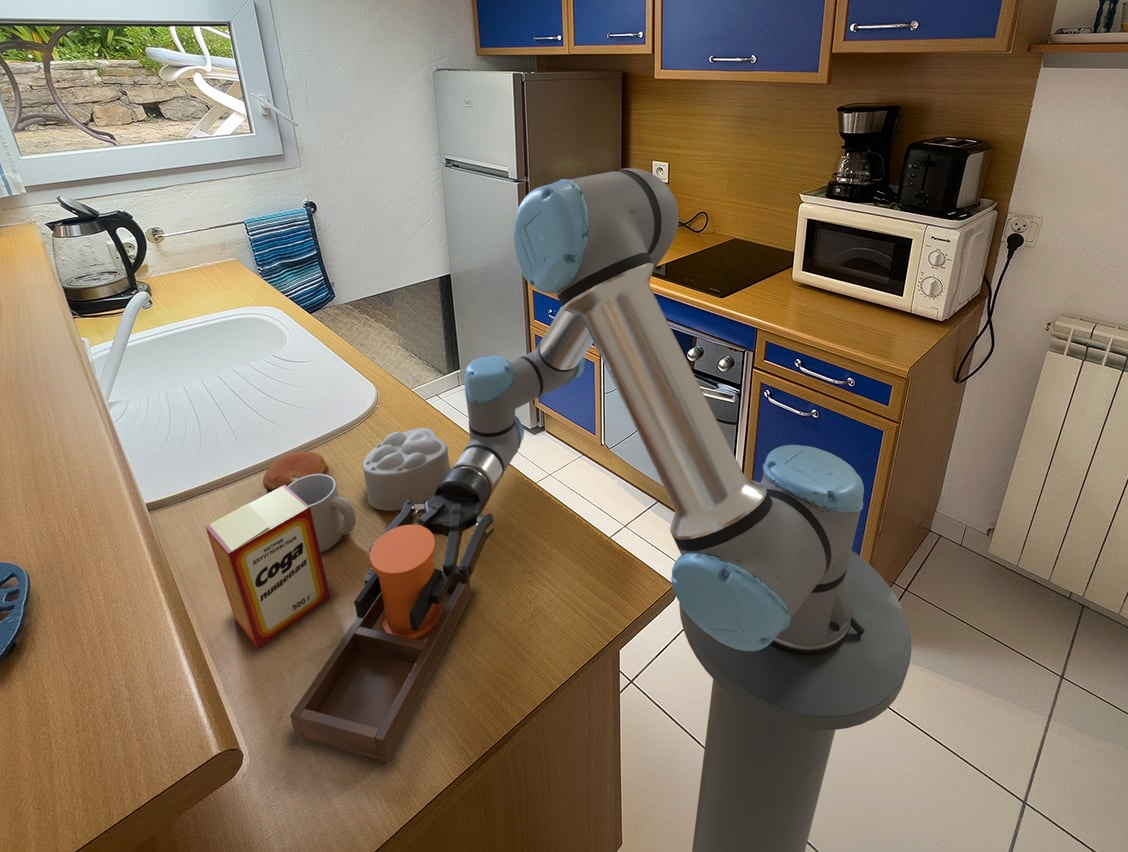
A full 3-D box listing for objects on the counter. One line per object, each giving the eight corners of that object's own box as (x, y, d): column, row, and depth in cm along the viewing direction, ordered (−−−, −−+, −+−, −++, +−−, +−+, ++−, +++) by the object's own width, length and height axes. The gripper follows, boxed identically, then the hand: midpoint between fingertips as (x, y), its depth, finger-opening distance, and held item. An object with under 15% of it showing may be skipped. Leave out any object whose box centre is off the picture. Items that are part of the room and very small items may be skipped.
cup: (310, 517, 94) (300, 471, 91) (370, 523, 93) (362, 477, 90) (282, 553, 88) (270, 505, 84) (347, 559, 87) (337, 512, 83)
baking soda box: (306, 572, 85) (284, 482, 78) (330, 597, 81) (309, 504, 75) (234, 618, 78) (204, 524, 72) (257, 648, 74) (227, 550, 68)
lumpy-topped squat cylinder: (457, 485, 102) (453, 443, 98) (383, 522, 93) (376, 478, 90) (429, 455, 109) (424, 415, 105) (357, 488, 101) (350, 446, 97)
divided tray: (471, 595, 81) (469, 575, 80) (387, 762, 63) (382, 740, 61) (398, 580, 84) (395, 560, 82) (295, 736, 65) (289, 715, 63)
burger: (314, 459, 107) (310, 438, 105) (339, 483, 102) (335, 461, 100) (256, 487, 100) (250, 465, 99) (279, 515, 95) (273, 492, 93)
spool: (453, 598, 80) (445, 530, 75) (426, 650, 73) (415, 578, 69) (402, 587, 81) (391, 519, 77) (370, 637, 75) (356, 566, 70)
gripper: (530, 515, 91) (464, 655, 70) (413, 494, 94) (318, 621, 74) (528, 475, 88) (459, 610, 67) (408, 455, 91) (307, 576, 71)
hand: (385, 615), depth 70 cm, fingers closed on spool, 6 cm apart
